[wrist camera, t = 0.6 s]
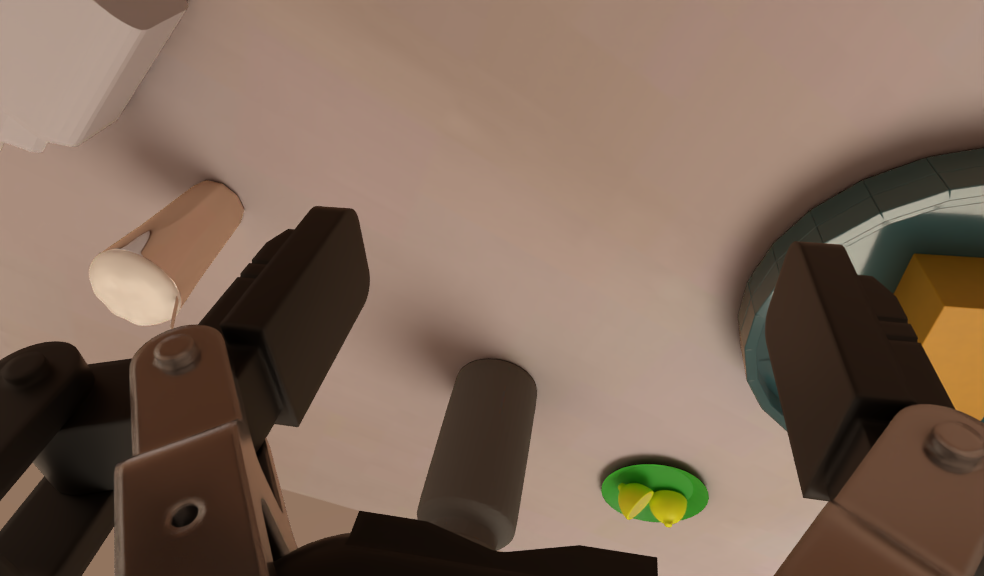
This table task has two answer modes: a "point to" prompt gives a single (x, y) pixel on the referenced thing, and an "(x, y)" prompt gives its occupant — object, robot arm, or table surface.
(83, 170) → the table surface
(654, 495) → the lemons on green plate
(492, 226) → the table surface
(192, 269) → the milkshake
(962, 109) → the table surface
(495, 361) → the bottle
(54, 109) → the charger
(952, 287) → the block
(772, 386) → the teal plate
